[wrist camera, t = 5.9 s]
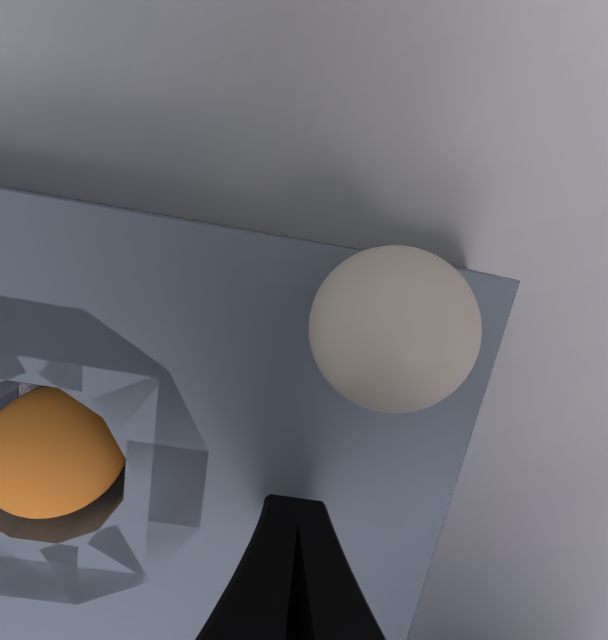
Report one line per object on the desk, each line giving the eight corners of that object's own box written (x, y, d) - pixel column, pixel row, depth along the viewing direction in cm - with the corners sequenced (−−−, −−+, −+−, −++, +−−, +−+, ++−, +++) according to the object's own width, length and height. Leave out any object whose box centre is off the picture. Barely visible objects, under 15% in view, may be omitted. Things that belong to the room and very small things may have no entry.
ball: (-58, 395, 8) (65, 349, 11) (-73, 516, 9) (45, 439, 12) (86, 458, 8) (166, 391, 11) (55, 574, 8) (139, 480, 12)
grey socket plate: (468, 269, 10) (520, 280, 8) (371, 615, 13) (386, 700, 11) (-73, 173, 10) (-199, 154, 7) (-45, 562, 13) (-127, 640, 10)
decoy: (457, 255, 8) (551, 270, 5) (422, 383, 8) (487, 462, 6) (320, 231, 8) (332, 231, 5) (297, 362, 8) (294, 433, 5)
